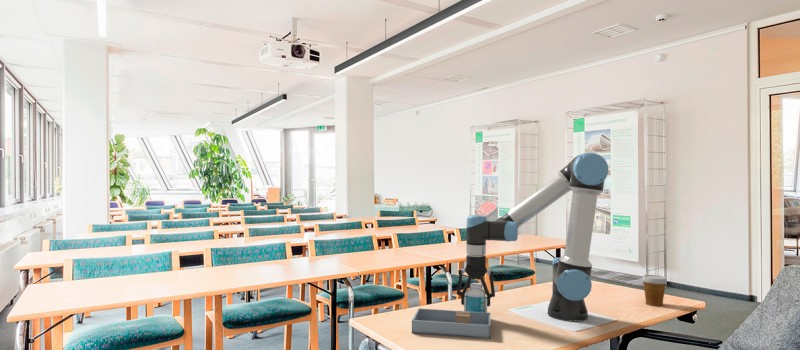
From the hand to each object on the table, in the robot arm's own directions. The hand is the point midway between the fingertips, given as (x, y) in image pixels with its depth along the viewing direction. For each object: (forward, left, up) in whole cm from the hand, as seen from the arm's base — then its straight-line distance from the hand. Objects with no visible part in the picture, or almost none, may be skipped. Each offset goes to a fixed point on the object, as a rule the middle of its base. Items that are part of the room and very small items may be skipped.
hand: (475, 313), depth 181 cm
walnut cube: (+4, +14, -1) cm, 14 cm away
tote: (+8, +14, -2) cm, 16 cm away
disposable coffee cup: (-76, -37, -2) cm, 85 cm away
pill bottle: (0, 0, -2) cm, 2 cm away
